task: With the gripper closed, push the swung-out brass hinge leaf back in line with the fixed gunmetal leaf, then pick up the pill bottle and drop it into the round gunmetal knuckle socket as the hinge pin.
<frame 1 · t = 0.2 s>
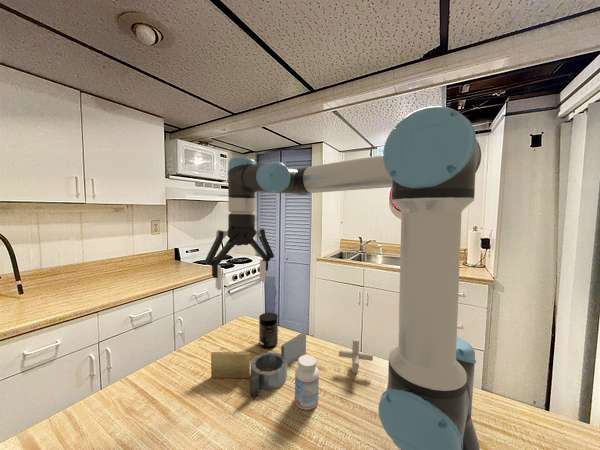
hand: (241, 284, 74), 27 cm above the countertop, fingers open, 13 cm apart
leaf b: (230, 364, 72), point 4 cm above the countertop, hinge at -50.0°
supplement container: (268, 344, 90), on the countertop
pipe connector: (355, 371, 76), on the countertop
hinge base: (269, 377, 73), on the countertop
pill bottle: (306, 402, 64), on the countertop
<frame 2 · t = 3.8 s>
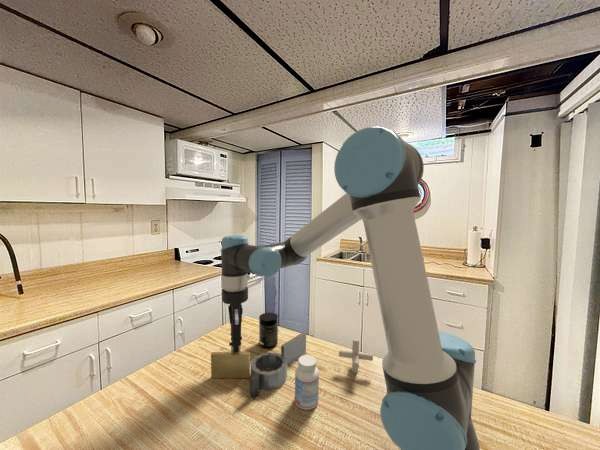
hand: (235, 363, 76), 2 cm above the countertop, fingers closed
leaf b: (230, 364, 72), point 4 cm above the countertop, hinge at -49.8°, touching gripper
everything else where it was.
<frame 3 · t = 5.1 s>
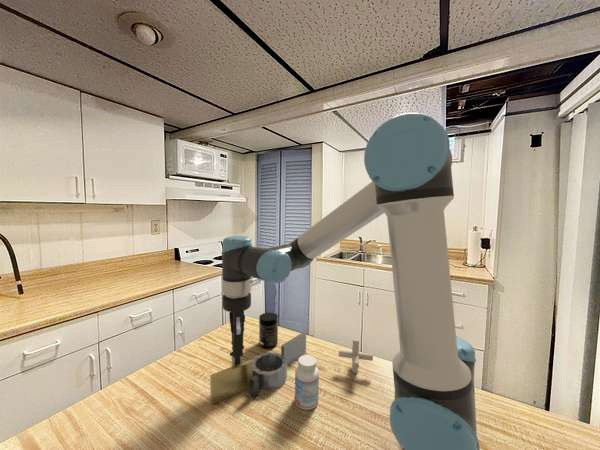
hand: (237, 374, 70), 3 cm above the countertop, fingers closed
leaf b: (232, 380, 66), point 4 cm above the countertop, hinge at -13.8°, touching gripper
everything else where it was.
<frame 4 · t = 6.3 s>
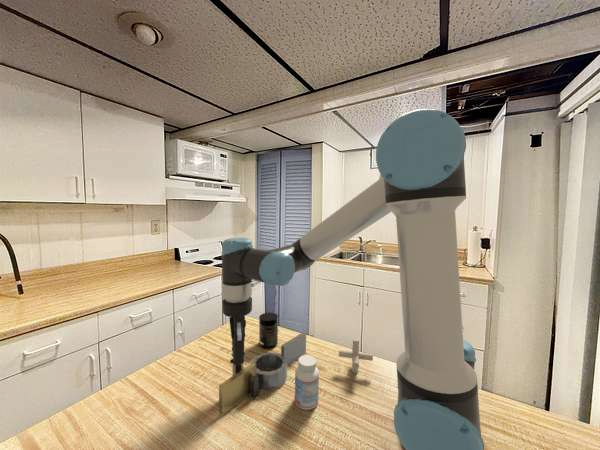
hand: (237, 381, 67), 3 cm above the countertop, fingers closed
leaf b: (238, 387, 64), point 4 cm above the countertop, hinge at 3.2°, touching gripper
everything else where it was.
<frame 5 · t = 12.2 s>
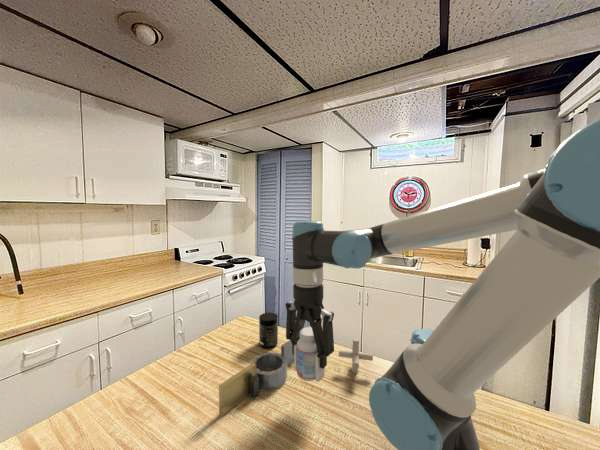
hand: (309, 373, 63), 8 cm above the countertop, fingers closed on pill bottle, 6 cm apart
leaf b: (238, 387, 64), point 4 cm above the countertop, hinge at 3.2°
pill bottle: (309, 375, 63), point 8 cm above the countertop, touching gripper
everything else where it was.
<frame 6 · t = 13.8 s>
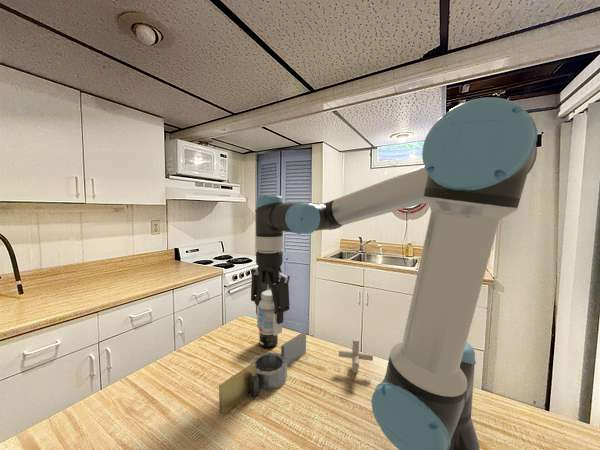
hand: (269, 329, 72), 15 cm above the countertop, fingers closed on pill bottle, 6 cm apart
pill bottle: (269, 331, 72), point 14 cm above the countertop, touching gripper
everything else where it was.
when the fingers open (5 cm above the countertop, at t = 15.7 s): pill bottle drops 5 cm, resting in hinge base.
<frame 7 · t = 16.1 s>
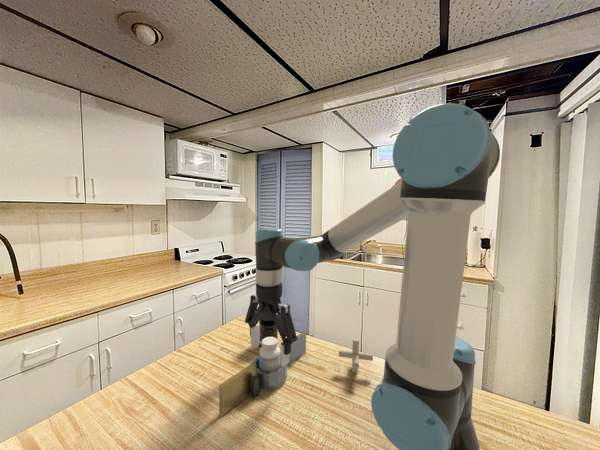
hand: (269, 355, 72), 7 cm above the countertop, fingers open, 12 cm apart
pill bottle: (269, 378, 73), resting in hinge base
everything else where it was.
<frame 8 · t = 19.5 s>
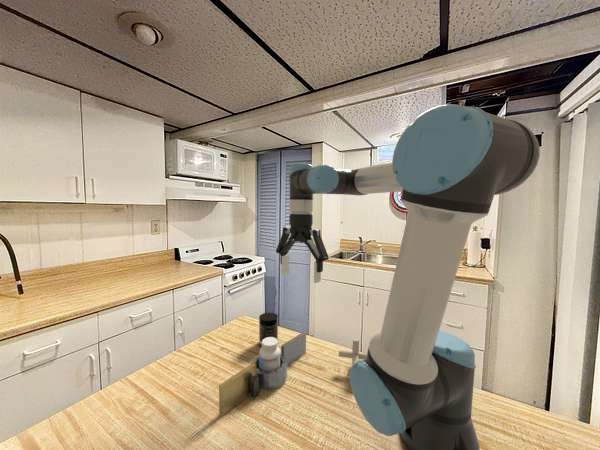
hand: (300, 277, 82), 27 cm above the countertop, fingers open, 13 cm apart
nothing on the countertop moved.
at the end: leaf b at +3° (first picture: -50°); pill bottle 0.2 cm off-centre on the hinge base, point 0.0 cm above the hinge base's base; pill bottle tilted 0° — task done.
